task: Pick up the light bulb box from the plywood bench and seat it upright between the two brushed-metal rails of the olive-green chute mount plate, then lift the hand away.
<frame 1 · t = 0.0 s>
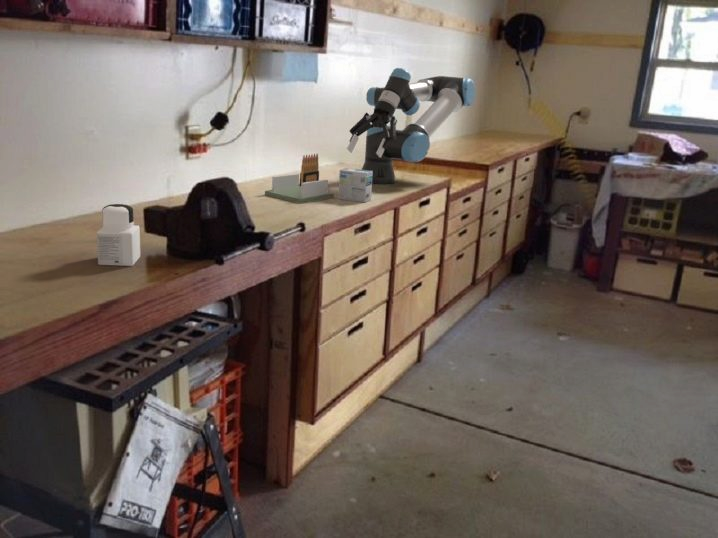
hand: (363, 153, 251), 15 cm above the table, tool tilted 35°, fingers open, 13 cm apart
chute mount: (299, 196, 242), on the table
ammunition clip: (309, 185, 266), on the table
light bulb box: (354, 200, 243), on the table
container: (119, 261, 155), on the table
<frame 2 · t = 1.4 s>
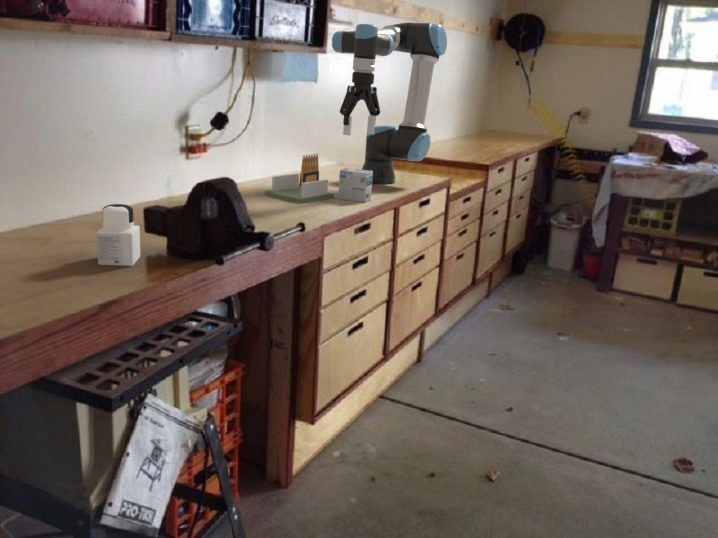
hand: (358, 134, 237), 23 cm above the table, tool pointing down, fingers open, 13 cm apart
nothing on the table moved.
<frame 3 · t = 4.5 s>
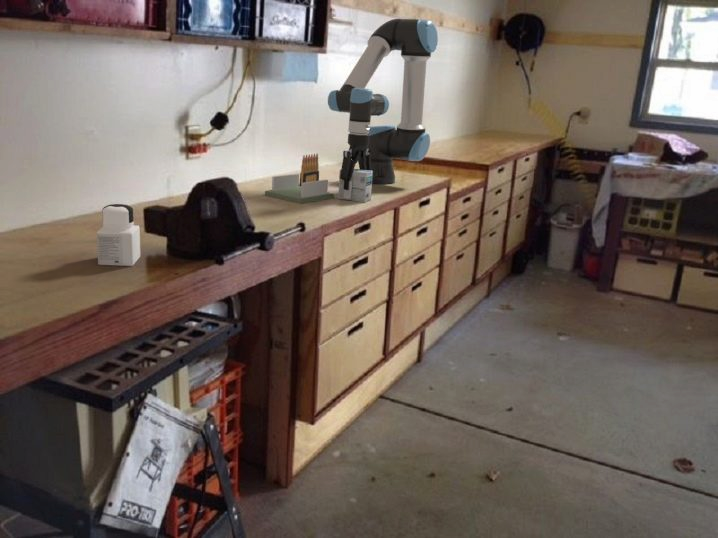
hand: (354, 197, 243), 1 cm above the table, tool pointing down, fingers closed on light bulb box, 8 cm apart
light bulb box: (354, 200, 243), on the table, touching gripper
everything else where it was.
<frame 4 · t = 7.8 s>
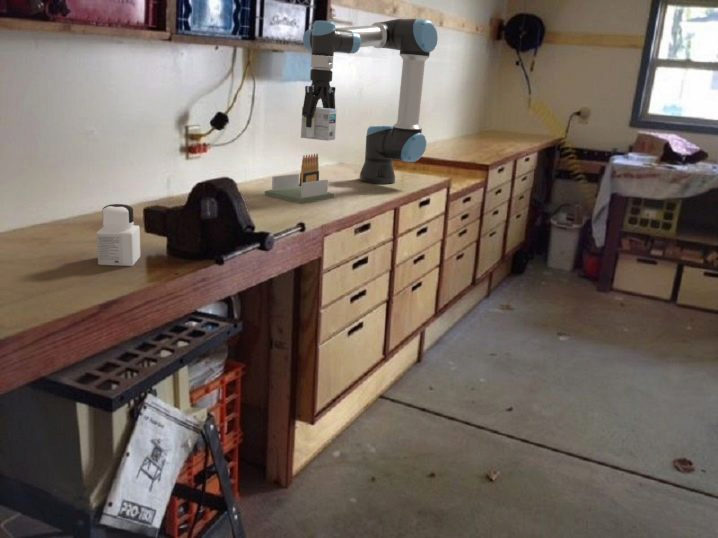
hand: (317, 136, 236), 22 cm above the table, tool pointing down, fingers closed on light bulb box, 8 cm apart
light bulb box: (317, 139, 236), point 21 cm above the table, touching gripper
everything else where it was.
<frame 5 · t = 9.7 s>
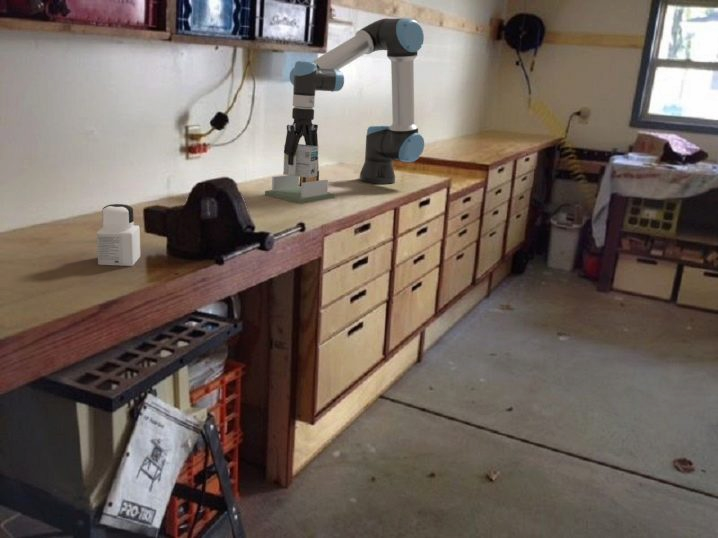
hand: (300, 173, 239), 8 cm above the table, tool pointing down, fingers closed on light bulb box, 8 cm apart
light bulb box: (300, 175, 240), point 7 cm above the table, touching gripper
everything else where it was.
when the fingers open (4 cm above the table, at t = 11.2 s): light bulb box drops 1 cm, resting on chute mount.
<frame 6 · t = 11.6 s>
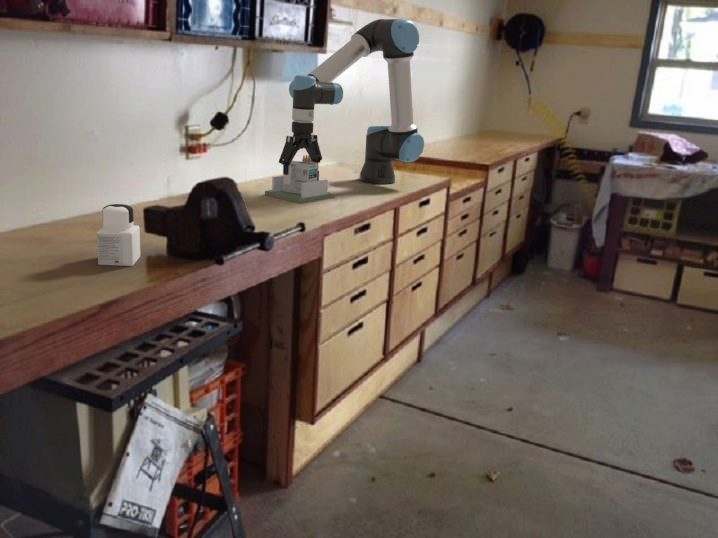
hand: (300, 182, 240), 5 cm above the table, tool pointing down, fingers open, 13 cm apart
light bulb box: (299, 192, 241), point 1 cm above the table, touching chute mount
everything else where it was.
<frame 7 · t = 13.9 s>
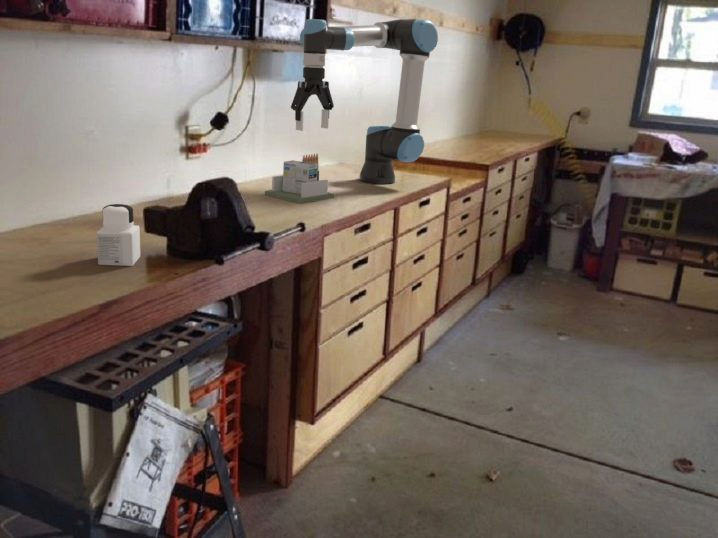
hand: (312, 129, 239), 24 cm above the table, tool pointing down, fingers open, 13 cm apart
nothing on the table moved.
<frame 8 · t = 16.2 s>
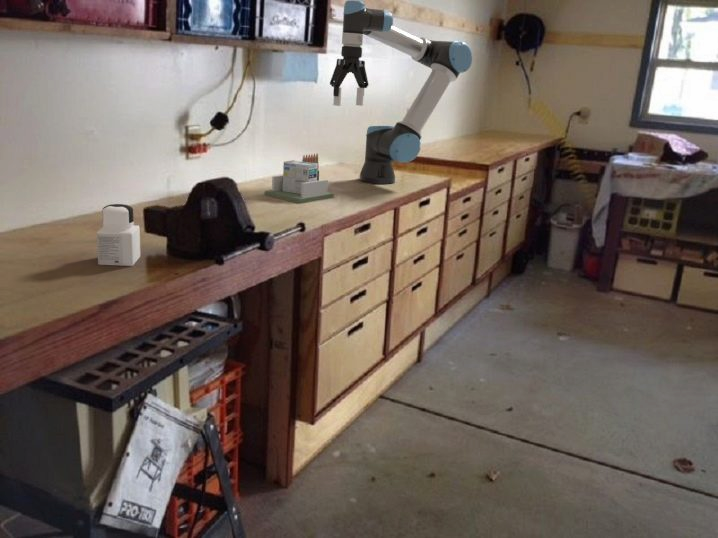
hand: (348, 105, 252), 32 cm above the table, tool pointing down, fingers open, 13 cm apart
nothing on the table moved.
at the end: light bulb box 0.4 cm off-centre on the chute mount, point 1.3 cm above the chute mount's base; light bulb box tilted 0°; the gripper is holding nothing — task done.
